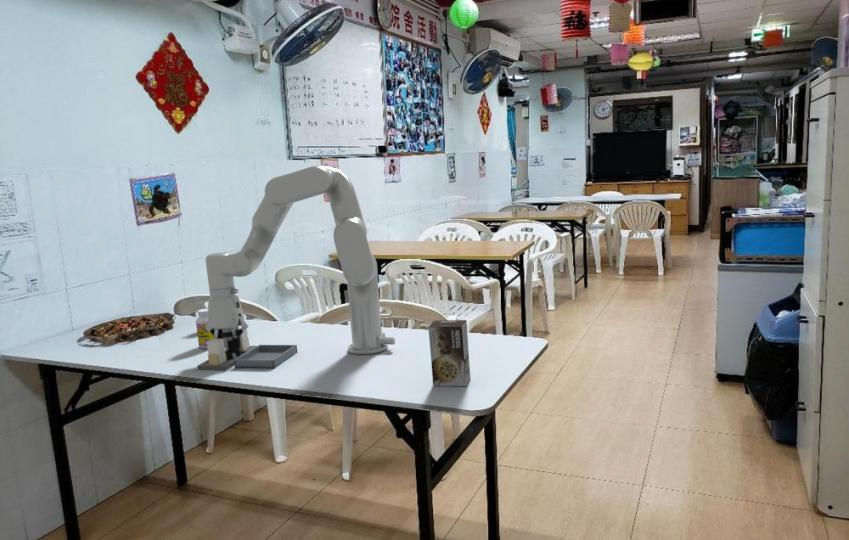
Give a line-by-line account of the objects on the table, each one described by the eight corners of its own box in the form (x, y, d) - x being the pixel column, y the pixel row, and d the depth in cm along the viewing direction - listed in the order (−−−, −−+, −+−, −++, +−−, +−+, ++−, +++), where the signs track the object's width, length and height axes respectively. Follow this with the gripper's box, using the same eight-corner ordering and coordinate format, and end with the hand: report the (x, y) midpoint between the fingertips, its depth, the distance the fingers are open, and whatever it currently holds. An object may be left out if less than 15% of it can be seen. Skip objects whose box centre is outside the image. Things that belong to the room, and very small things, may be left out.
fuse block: (260, 349, 215) (258, 325, 213) (227, 370, 195) (223, 343, 193) (233, 349, 217) (230, 325, 216) (197, 369, 197) (194, 343, 196)
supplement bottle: (194, 348, 221) (190, 311, 219) (208, 343, 227) (204, 307, 225) (209, 349, 218) (205, 312, 216) (223, 344, 224) (219, 308, 222)
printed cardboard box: (471, 378, 172) (467, 319, 170) (466, 387, 166) (462, 325, 164) (437, 378, 175) (433, 319, 172) (431, 386, 169) (427, 326, 166)
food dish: (136, 349, 231) (132, 328, 229) (64, 348, 241) (59, 328, 240) (198, 321, 263) (195, 302, 262) (132, 321, 274) (128, 303, 272)
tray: (297, 352, 208) (296, 344, 208) (274, 368, 193) (273, 360, 193) (260, 352, 211) (259, 344, 211) (235, 368, 196) (234, 360, 196)
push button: (226, 363, 202) (222, 331, 200) (216, 361, 205) (211, 330, 203) (244, 356, 207) (239, 326, 205) (234, 355, 210) (229, 325, 209)
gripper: (253, 289, 204) (259, 346, 207) (205, 290, 208) (212, 345, 211) (240, 295, 197) (247, 353, 200) (191, 295, 201) (198, 352, 204)
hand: (229, 348), depth 205 cm, fingers closed on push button, 4 cm apart
